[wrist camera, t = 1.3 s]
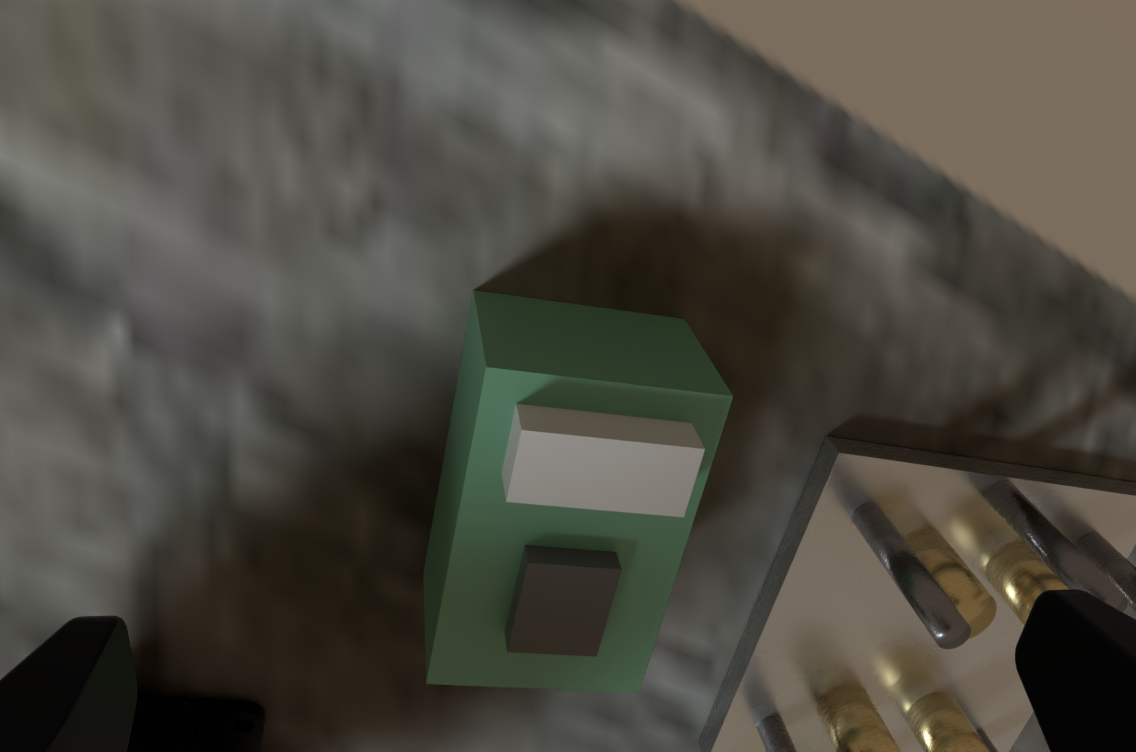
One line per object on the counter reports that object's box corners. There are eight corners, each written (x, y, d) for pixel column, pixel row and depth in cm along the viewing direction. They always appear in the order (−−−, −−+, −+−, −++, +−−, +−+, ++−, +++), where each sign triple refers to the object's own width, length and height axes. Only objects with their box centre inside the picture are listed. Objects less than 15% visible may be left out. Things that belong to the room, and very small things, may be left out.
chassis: (978, 759, 32) (1077, 911, 27) (698, 742, 29) (754, 906, 25) (1142, 483, 27) (1296, 610, 22) (826, 436, 25) (925, 567, 20)
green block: (607, 582, 26) (648, 726, 22) (422, 569, 25) (426, 718, 20) (682, 315, 23) (749, 421, 18) (472, 286, 21) (490, 392, 17)
